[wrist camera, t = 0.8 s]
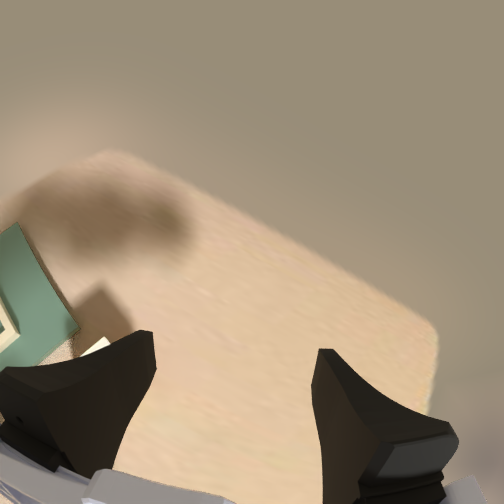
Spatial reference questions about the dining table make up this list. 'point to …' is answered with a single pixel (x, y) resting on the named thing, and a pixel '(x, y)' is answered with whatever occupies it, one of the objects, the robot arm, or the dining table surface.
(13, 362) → the base plate
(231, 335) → the dining table surface
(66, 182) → the dining table surface
